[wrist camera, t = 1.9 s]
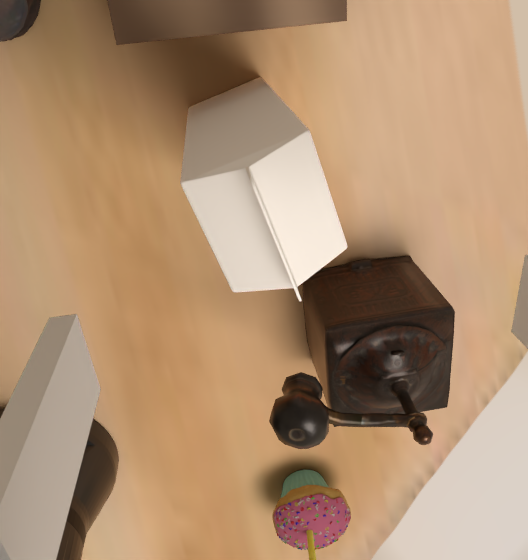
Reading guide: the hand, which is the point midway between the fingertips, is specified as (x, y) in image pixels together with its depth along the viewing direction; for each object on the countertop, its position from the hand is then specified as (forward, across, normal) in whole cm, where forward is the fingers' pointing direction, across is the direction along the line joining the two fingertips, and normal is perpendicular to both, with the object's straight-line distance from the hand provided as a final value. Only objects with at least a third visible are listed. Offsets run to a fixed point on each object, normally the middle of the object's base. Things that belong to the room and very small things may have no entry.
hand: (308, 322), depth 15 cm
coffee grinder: (+28, +7, -18) cm, 34 cm away
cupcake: (+28, +3, -41) cm, 50 cm away
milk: (+28, 0, 0) cm, 28 cm away
